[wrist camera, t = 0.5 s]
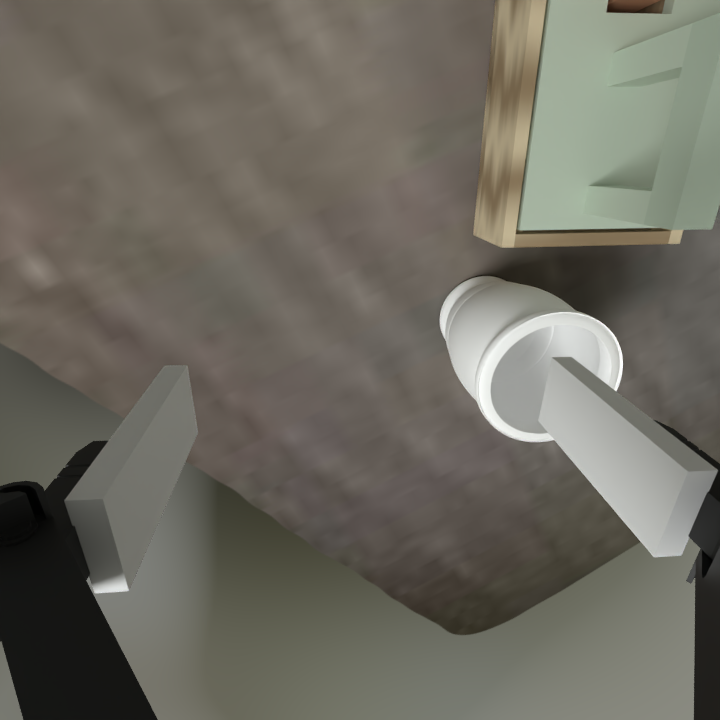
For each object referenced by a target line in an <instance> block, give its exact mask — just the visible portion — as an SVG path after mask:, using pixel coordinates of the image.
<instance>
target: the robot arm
mask: <svg viewBox="0 0 720 720" xmlns="http://www.w3.org/2000/svg"><path fill="white" fill-rule="evenodd" d="M538 421H539V422H540V423H541V425H542V426H543V427H544V428H545V429H546V431H547V432H548V433H549V434H550V435H551V436H552V438H553V439H554V440H555V441H556V442H557V444H558V445H559V446H560V447H561V448H562V449H563V451H564V452H565V453H566V454H567V455H568V456H569V458H570V459H571V460H572V461H573V462H574V464H575V465H576V466H577V467H578V468H579V469H580V471H581V472H582V473H583V474H584V475H585V476H586V478H587V479H588V480H589V481H590V482H591V484H592V485H593V486H594V487H595V488H596V489H597V491H598V492H599V493H600V494H601V495H602V497H603V498H604V499H605V500H606V501H607V502H608V504H609V505H610V506H611V507H612V508H613V509H614V511H615V512H616V513H617V514H618V515H619V517H620V518H621V519H622V520H623V521H624V522H625V524H626V525H627V526H628V527H629V528H630V529H631V531H632V532H633V533H634V534H635V535H636V537H637V538H638V539H639V540H640V541H641V542H642V543H643V545H644V546H645V547H646V548H647V549H648V551H649V552H650V553H651V554H652V555H653V557H664V556H680V555H682V553H683V551H684V548H685V546H686V544H687V541H688V539H689V537H690V538H691V539H692V540H693V541H694V542H695V543H696V544H697V545H698V546H699V547H700V548H701V549H700V551H699V554H698V556H697V558H696V560H695V562H694V565H693V567H692V569H691V571H690V574H689V576H688V578H687V580H686V581H687V582H689V583H692V581H693V579H694V578H695V669H694V670H695V671H694V673H695V674H694V676H695V677H694V720H720V464H719V463H718V462H717V461H715V460H714V459H713V458H711V457H710V456H709V455H707V454H706V453H705V452H703V451H702V450H699V449H698V447H697V446H695V445H694V444H693V443H691V442H690V441H687V439H686V438H685V437H683V436H682V435H681V434H679V433H678V432H677V431H676V430H674V429H673V428H670V427H668V426H666V425H664V424H662V423H660V422H658V421H656V420H653V419H651V418H650V417H649V416H647V415H646V414H645V413H643V412H642V411H641V410H640V409H638V408H637V407H636V406H634V405H633V404H632V403H631V402H629V401H628V400H627V399H625V398H624V397H623V396H621V395H620V394H619V393H618V392H616V391H615V390H614V389H612V388H611V387H610V386H609V385H607V384H606V383H605V382H603V381H602V380H601V379H599V378H598V377H597V376H596V375H594V374H593V373H592V372H590V371H589V370H588V369H587V368H585V367H584V366H583V365H581V364H580V363H579V362H577V361H576V360H575V359H574V358H572V357H552V358H551V363H550V368H549V372H548V377H547V382H546V387H545V391H544V396H543V401H542V405H541V410H540V415H539V419H538ZM197 434H198V429H197V423H196V417H195V410H194V404H193V398H192V391H191V385H190V379H189V373H188V366H187V365H171V366H164V367H163V368H162V370H161V371H160V372H159V374H158V375H157V376H156V378H155V379H154V380H153V382H152V383H151V384H150V386H149V387H148V388H147V390H146V391H145V392H144V394H143V395H142V396H141V398H140V399H139V401H138V402H137V403H136V405H135V406H134V407H133V409H132V410H131V411H130V413H129V414H128V415H127V417H126V418H125V419H124V421H123V422H122V423H121V425H120V426H119V427H118V429H117V430H116V432H115V433H114V434H113V436H112V437H111V438H110V440H109V441H93V442H91V443H90V444H88V445H87V446H85V447H84V448H82V449H81V450H79V451H78V452H76V454H75V455H74V456H73V457H72V458H71V460H70V461H69V462H68V463H67V465H66V468H63V469H62V471H61V472H60V473H59V474H58V475H57V479H54V480H53V481H52V483H51V484H50V485H49V486H48V488H47V489H46V490H45V491H44V489H43V487H42V486H41V485H39V484H38V483H37V482H30V481H22V482H13V483H9V484H6V485H3V486H0V641H2V644H3V648H4V651H5V655H6V659H7V662H8V666H9V669H10V673H11V677H12V680H13V684H14V687H15V691H16V695H17V698H18V702H19V705H20V709H21V712H22V716H23V720H157V718H156V716H155V714H154V712H153V710H152V708H151V706H150V704H149V702H148V700H147V698H146V696H145V694H144V692H143V691H142V688H141V687H140V685H139V683H138V681H137V679H136V677H135V675H134V673H133V671H132V669H131V667H130V665H129V663H128V661H127V659H126V657H125V655H124V653H123V652H122V650H121V648H120V646H119V644H118V642H117V640H116V638H115V636H114V634H113V632H112V630H111V628H110V626H109V624H108V623H107V620H106V619H105V616H104V615H103V613H102V611H101V609H100V607H99V605H98V603H97V601H96V599H95V597H94V595H93V593H92V591H91V589H90V587H89V585H88V583H87V582H86V580H87V578H88V577H90V580H91V583H92V586H93V589H94V593H106V592H121V591H129V590H130V587H131V585H132V583H133V580H134V578H135V576H136V574H137V571H138V569H139V567H140V565H141V562H142V560H143V557H144V555H145V553H146V551H147V548H148V546H149V544H150V542H151V539H152V537H153V535H154V532H155V530H156V528H157V526H158V523H159V521H160V519H161V516H162V514H163V512H164V509H165V507H166V504H167V502H168V500H169V498H170V496H171V493H172V491H173V489H174V486H175V484H176V482H177V480H178V477H179V475H180V473H181V471H182V468H183V466H184V464H185V461H186V459H187V457H188V454H189V452H190V450H191V448H192V445H193V443H194V441H195V438H196V436H197Z"/></svg>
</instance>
